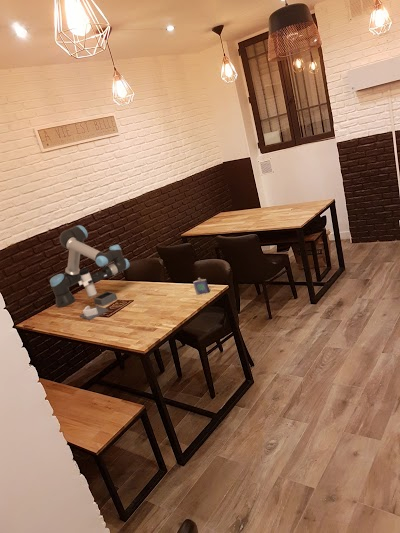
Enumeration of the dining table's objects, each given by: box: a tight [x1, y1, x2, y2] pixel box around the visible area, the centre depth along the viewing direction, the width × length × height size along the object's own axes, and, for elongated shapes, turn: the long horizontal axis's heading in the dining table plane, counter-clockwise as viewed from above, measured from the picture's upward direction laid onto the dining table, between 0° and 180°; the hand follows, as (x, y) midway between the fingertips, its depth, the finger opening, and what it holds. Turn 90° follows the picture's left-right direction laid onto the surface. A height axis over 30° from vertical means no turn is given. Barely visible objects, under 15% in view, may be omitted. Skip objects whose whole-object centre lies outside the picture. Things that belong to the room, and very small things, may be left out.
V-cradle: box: [79, 305, 109, 322], centre depth 283 cm, size 16×15×5 cm
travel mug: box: [79, 267, 98, 298], centre depth 281 cm, size 6×7×20 cm
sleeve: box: [92, 290, 118, 307], centre depth 302 cm, size 12×12×5 cm
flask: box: [192, 277, 210, 295], centre depth 264 cm, size 9×3×11 cm, turn 76°
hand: (81, 284), depth 278 cm, fingers closed on travel mug, 6 cm apart
